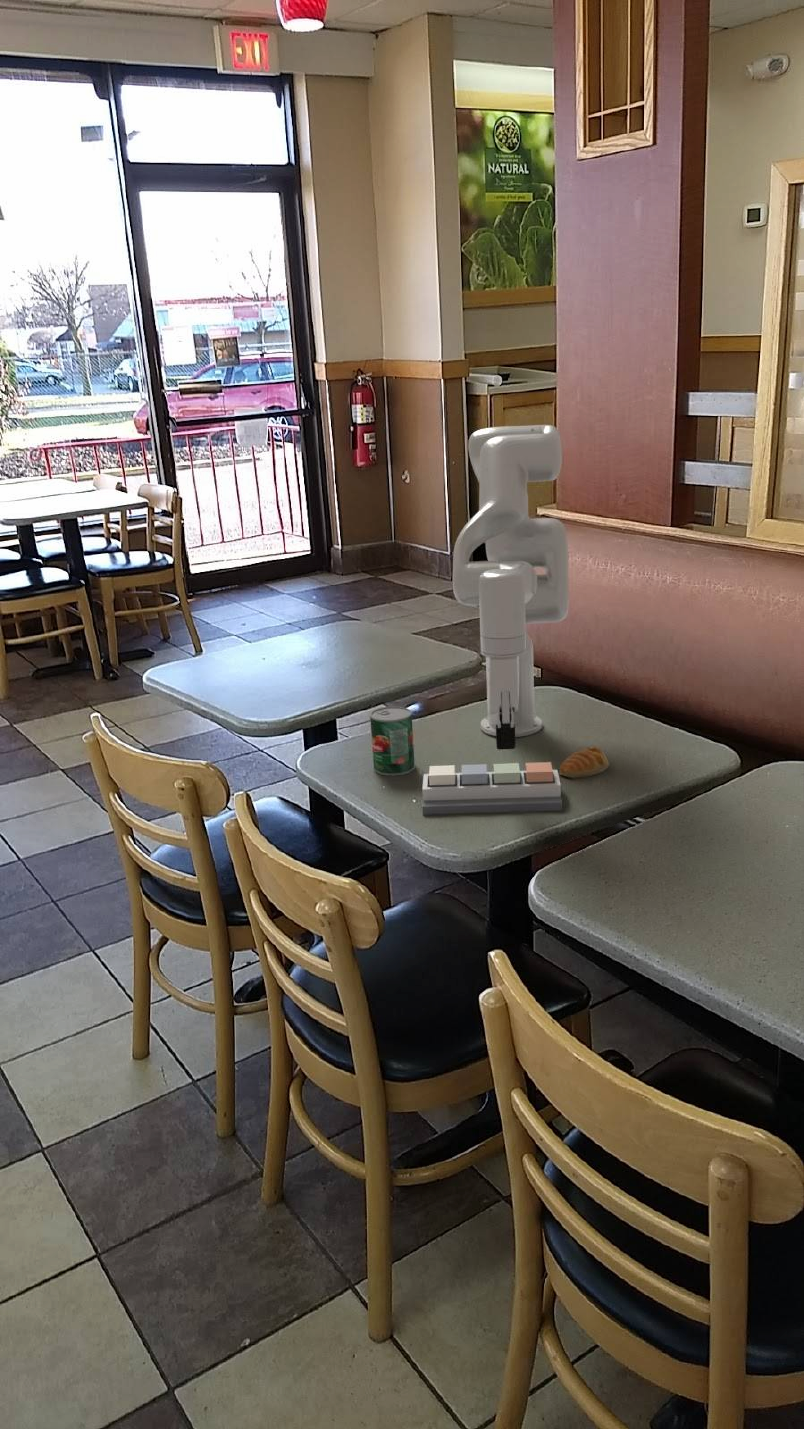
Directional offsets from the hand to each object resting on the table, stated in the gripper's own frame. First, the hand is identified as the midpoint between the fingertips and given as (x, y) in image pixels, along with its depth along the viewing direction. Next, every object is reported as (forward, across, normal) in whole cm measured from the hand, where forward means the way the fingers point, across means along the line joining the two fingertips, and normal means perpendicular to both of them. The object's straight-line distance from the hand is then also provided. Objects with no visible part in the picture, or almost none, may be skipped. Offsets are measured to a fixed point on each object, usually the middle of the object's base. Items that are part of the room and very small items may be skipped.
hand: (505, 747), depth 189 cm
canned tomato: (+10, -17, -21) cm, 28 cm away
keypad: (+10, -1, -3) cm, 10 cm away
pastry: (+10, -12, +15) cm, 22 cm away
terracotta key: (+6, -1, +6) cm, 8 cm away
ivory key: (+6, -1, -11) cm, 13 cm away
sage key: (+6, -1, 0) cm, 6 cm away
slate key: (+6, -1, -6) cm, 8 cm away
